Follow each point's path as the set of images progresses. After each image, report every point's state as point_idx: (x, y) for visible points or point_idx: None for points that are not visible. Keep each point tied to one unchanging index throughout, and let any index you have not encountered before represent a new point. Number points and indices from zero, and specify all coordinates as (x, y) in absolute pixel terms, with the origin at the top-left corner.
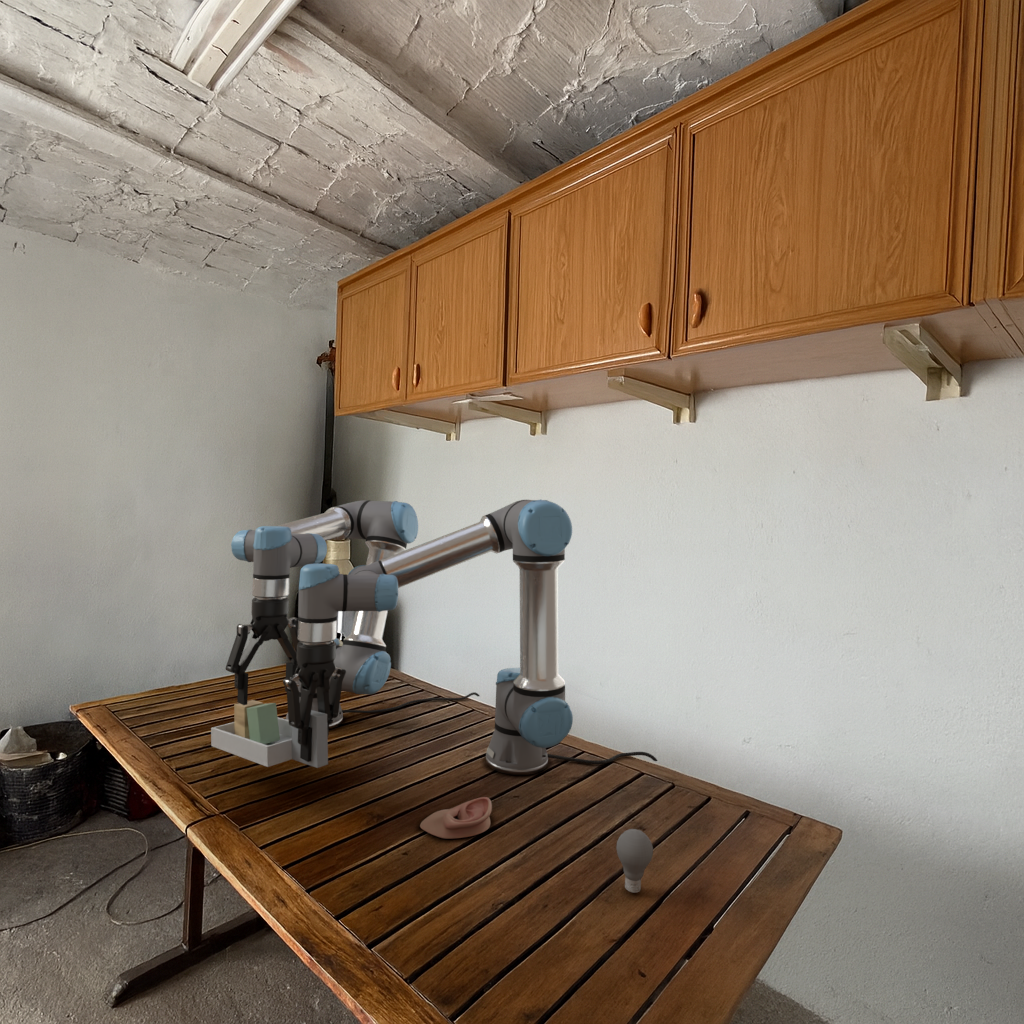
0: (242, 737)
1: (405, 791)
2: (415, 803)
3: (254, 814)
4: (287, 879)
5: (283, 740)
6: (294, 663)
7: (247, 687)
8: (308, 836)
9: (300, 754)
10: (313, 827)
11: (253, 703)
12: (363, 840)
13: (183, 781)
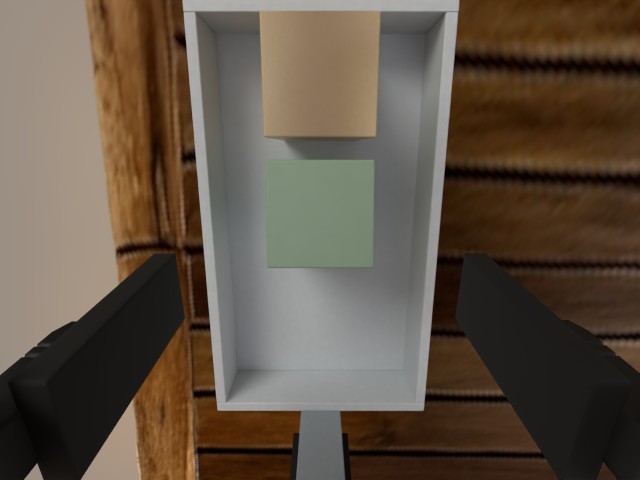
0: (210, 257)
1: (489, 408)
2: (462, 445)
3: None
4: (189, 471)
5: (379, 225)
6: (610, 464)
7: (138, 384)
8: (268, 413)
9: (293, 442)
10: None
11: (334, 105)
12: None
13: (167, 13)
